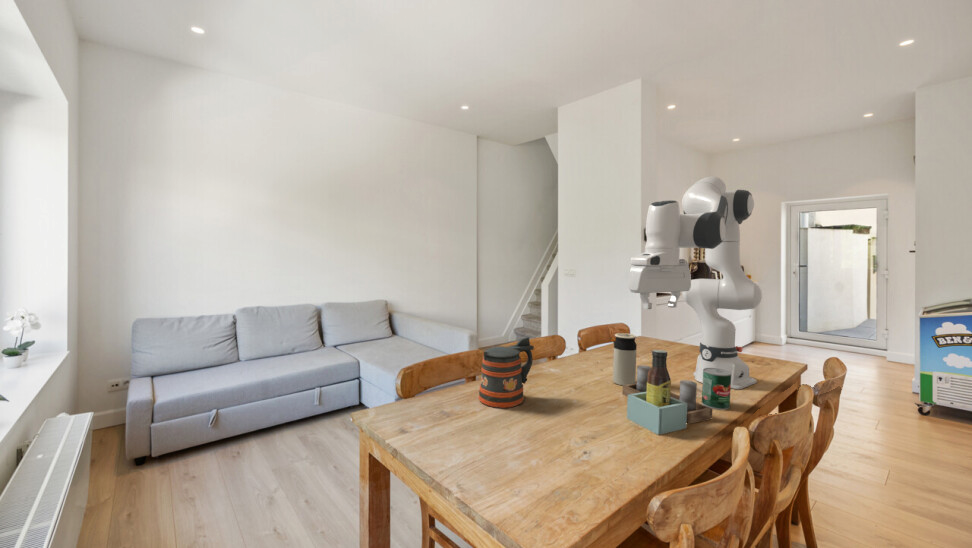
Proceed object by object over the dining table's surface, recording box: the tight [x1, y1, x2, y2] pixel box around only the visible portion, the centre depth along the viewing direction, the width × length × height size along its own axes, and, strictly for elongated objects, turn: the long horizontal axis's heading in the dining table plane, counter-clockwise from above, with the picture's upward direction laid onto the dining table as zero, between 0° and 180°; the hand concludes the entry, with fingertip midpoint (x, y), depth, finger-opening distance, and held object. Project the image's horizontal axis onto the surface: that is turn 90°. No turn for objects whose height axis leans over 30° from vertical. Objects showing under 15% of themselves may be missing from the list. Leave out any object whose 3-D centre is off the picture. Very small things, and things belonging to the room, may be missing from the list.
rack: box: [622, 364, 713, 425], centre depth 127 cm, size 10×26×10 cm, turn 24°
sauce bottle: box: [646, 349, 672, 407], centre depth 114 cm, size 7×6×20 cm
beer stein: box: [478, 336, 535, 409], centre depth 131 cm, size 19×15×20 cm
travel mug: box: [612, 332, 638, 387], centre depth 149 cm, size 8×8×18 cm
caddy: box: [626, 392, 687, 436], centre depth 114 cm, size 10×12×7 cm
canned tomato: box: [701, 368, 732, 411], centre depth 128 cm, size 8×8×11 cm
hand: (659, 308), depth 112 cm, fingers open, 8 cm apart
